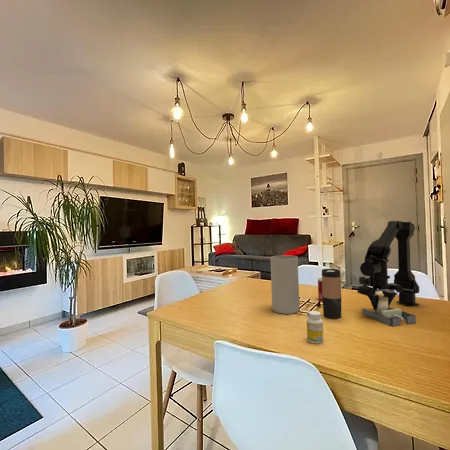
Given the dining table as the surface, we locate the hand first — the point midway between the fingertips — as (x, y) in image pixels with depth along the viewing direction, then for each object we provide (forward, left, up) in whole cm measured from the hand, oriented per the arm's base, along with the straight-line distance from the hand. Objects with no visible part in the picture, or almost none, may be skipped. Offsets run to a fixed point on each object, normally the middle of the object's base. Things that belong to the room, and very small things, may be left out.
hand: (380, 309), depth 112 cm
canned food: (+8, -26, -3) cm, 28 cm away
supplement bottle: (+40, +13, -3) cm, 42 cm away
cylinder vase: (+35, -19, -3) cm, 40 cm away
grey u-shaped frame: (0, +4, -3) cm, 4 cm away
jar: (0, 0, -2) cm, 2 cm away
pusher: (0, +8, -2) cm, 8 cm away
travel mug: (+20, -5, -3) cm, 21 cm away
